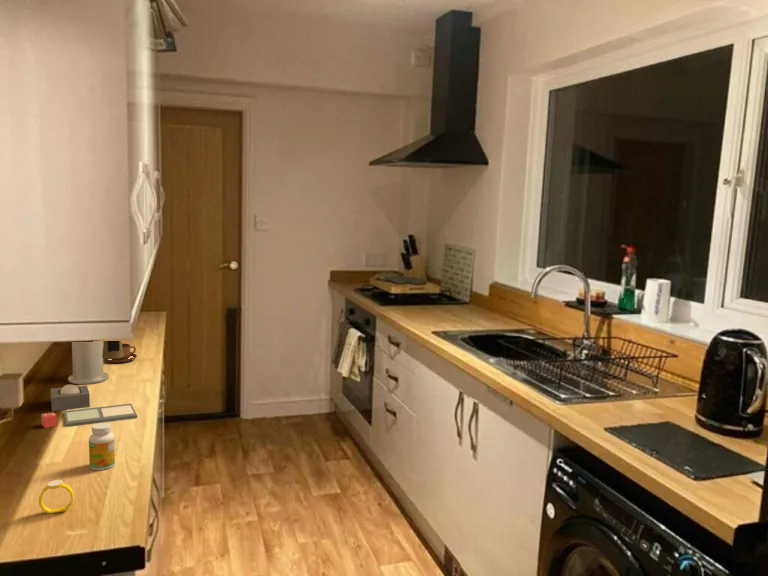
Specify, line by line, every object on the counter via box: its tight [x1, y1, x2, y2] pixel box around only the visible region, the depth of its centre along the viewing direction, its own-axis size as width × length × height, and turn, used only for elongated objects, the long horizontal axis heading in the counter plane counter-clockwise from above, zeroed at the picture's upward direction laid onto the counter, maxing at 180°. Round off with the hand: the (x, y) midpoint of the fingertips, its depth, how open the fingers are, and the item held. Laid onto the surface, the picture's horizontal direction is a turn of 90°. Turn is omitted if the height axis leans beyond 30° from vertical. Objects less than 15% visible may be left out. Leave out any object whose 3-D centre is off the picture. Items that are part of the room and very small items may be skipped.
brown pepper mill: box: [102, 340, 124, 359], centre depth 193 cm, size 6×6×11 cm
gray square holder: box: [50, 384, 91, 412], centre depth 192 cm, size 10×10×4 cm
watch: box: [38, 479, 75, 515], centre depth 125 cm, size 6×3×6 cm, turn 109°
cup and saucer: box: [103, 343, 137, 364], centre depth 246 cm, size 12×12×6 cm
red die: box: [40, 411, 58, 429], centre depth 173 cm, size 3×3×3 cm
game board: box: [63, 403, 138, 428], centre depth 182 cm, size 12×18×1 cm, turn 119°
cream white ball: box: [60, 383, 80, 395], centre depth 191 cm, size 5×5×5 cm
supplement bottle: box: [88, 422, 116, 471], centre depth 147 cm, size 5×5×10 cm
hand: (112, 348), depth 193 cm, fingers closed on brown pepper mill, 4 cm apart
